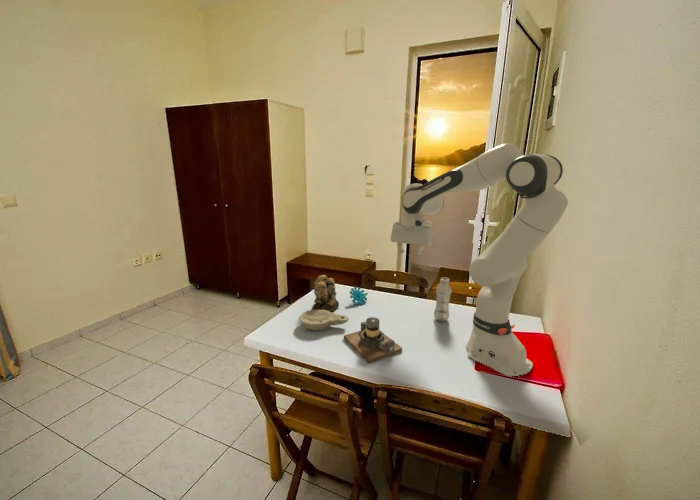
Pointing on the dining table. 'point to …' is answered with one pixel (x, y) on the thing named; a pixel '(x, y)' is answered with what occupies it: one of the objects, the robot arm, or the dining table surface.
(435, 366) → the dining table surface
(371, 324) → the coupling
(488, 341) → the robot arm
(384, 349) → the shaft seat
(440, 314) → the plastic bottle
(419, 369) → the dining table surface
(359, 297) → the teal virus model
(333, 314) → the oil lamp
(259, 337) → the dining table surface
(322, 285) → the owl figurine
